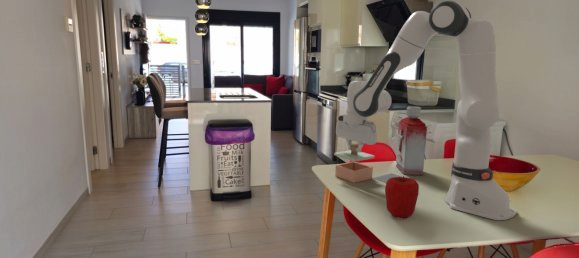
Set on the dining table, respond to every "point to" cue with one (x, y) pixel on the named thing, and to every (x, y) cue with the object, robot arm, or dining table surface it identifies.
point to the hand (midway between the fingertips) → (354, 151)
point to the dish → (354, 171)
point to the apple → (401, 196)
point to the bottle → (411, 143)
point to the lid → (354, 154)
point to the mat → (386, 177)
